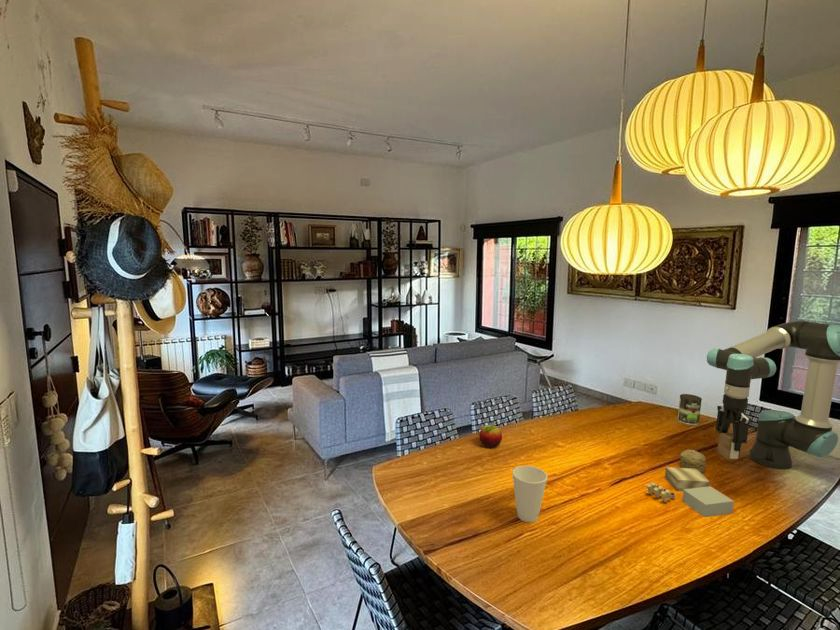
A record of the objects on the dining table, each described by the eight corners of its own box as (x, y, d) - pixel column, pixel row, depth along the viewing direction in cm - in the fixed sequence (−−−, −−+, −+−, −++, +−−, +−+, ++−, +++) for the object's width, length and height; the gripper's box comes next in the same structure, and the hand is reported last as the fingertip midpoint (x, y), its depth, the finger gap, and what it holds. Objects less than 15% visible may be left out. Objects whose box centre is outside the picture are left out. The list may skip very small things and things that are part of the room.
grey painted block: (708, 498, 169) (710, 486, 168) (732, 513, 159) (733, 501, 158) (682, 501, 166) (683, 489, 165) (704, 517, 157) (705, 504, 156)
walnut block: (729, 452, 170) (732, 432, 169) (739, 458, 165) (742, 438, 164) (717, 452, 170) (719, 432, 168) (726, 458, 165) (729, 438, 163)
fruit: (505, 443, 213) (505, 424, 211) (496, 452, 204) (497, 431, 202) (484, 438, 218) (485, 419, 217) (475, 446, 209) (475, 426, 208)
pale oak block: (694, 480, 182) (696, 468, 181) (708, 493, 172) (710, 481, 171) (664, 478, 183) (665, 467, 182) (676, 491, 173) (677, 479, 172)
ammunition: (664, 493, 163) (677, 488, 166) (645, 484, 169) (659, 479, 173) (662, 505, 163) (676, 500, 167) (644, 495, 170) (658, 490, 174)
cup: (538, 530, 148) (541, 486, 145) (505, 519, 154) (507, 476, 151) (549, 513, 158) (551, 471, 155) (517, 502, 164) (519, 462, 161)
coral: (710, 472, 188) (712, 455, 186) (693, 475, 185) (695, 458, 184) (691, 462, 196) (693, 446, 195) (674, 464, 194) (676, 448, 193)
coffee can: (702, 426, 237) (705, 400, 234) (681, 424, 238) (684, 399, 236) (694, 418, 247) (696, 394, 244) (674, 417, 248) (676, 393, 246)
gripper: (708, 388, 172) (701, 444, 176) (745, 404, 155) (737, 466, 158) (727, 387, 173) (719, 443, 176) (765, 404, 155) (756, 466, 159)
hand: (727, 454), depth 167 cm, fingers closed on walnut block, 5 cm apart
